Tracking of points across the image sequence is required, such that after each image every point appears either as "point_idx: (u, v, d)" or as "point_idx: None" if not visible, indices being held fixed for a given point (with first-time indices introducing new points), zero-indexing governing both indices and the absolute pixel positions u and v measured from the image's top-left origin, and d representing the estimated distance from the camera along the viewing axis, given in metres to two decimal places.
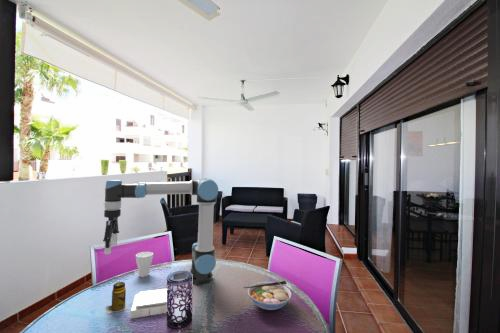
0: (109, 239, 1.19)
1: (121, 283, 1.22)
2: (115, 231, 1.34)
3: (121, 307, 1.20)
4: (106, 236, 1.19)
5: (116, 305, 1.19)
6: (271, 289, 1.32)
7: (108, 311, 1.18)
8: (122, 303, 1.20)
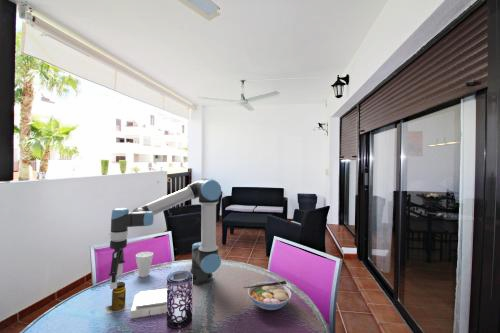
0: (115, 273, 1.12)
1: (121, 283, 1.22)
2: (120, 261, 1.28)
3: (121, 307, 1.20)
4: (112, 270, 1.12)
5: (116, 305, 1.19)
6: (271, 289, 1.32)
7: (108, 311, 1.18)
8: (122, 303, 1.20)
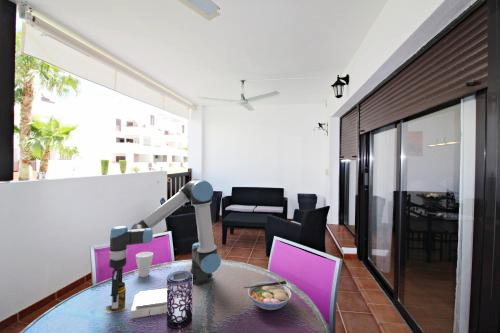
0: (117, 294, 1.16)
1: (121, 283, 1.22)
2: None
3: (121, 307, 1.20)
4: (113, 291, 1.15)
5: None
6: (271, 289, 1.32)
7: (108, 311, 1.18)
8: (122, 303, 1.20)
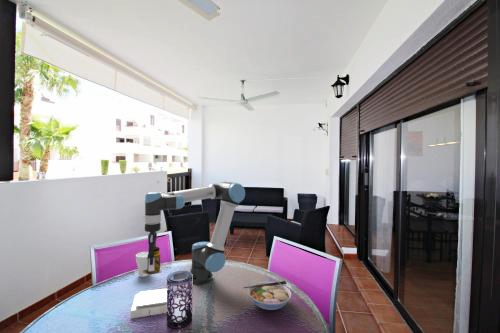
0: (153, 256, 1.18)
1: (156, 248, 1.25)
2: None
3: (157, 270, 1.23)
4: (150, 254, 1.18)
5: None
6: (271, 289, 1.32)
7: (145, 274, 1.21)
8: (157, 266, 1.23)
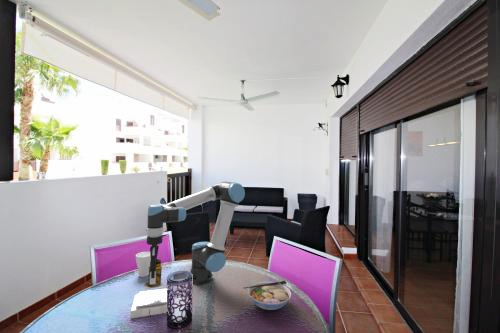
0: (155, 270, 1.18)
1: (157, 260, 1.25)
2: None
3: (158, 283, 1.22)
4: (152, 267, 1.18)
5: None
6: (271, 289, 1.32)
7: (146, 287, 1.21)
8: (158, 279, 1.23)
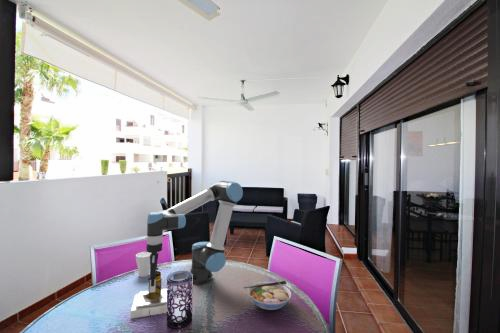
0: (155, 278, 1.17)
1: (157, 272, 1.25)
2: None
3: (158, 295, 1.22)
4: (152, 275, 1.16)
5: (153, 293, 1.21)
6: (271, 289, 1.32)
7: (146, 299, 1.21)
8: (158, 291, 1.23)
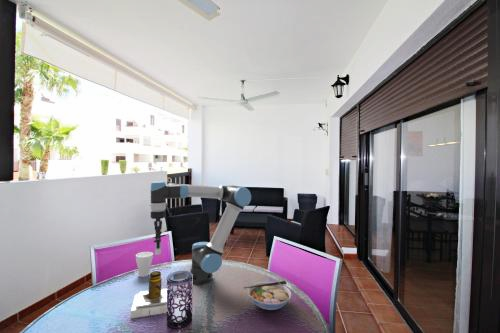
0: (160, 240, 1.21)
1: (157, 272, 1.25)
2: None
3: (158, 295, 1.22)
4: (157, 237, 1.21)
5: (153, 293, 1.21)
6: (271, 289, 1.32)
7: (146, 299, 1.21)
8: (158, 291, 1.23)
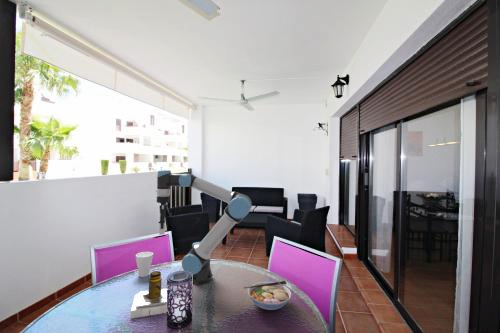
0: (164, 221, 1.36)
1: (157, 272, 1.25)
2: None
3: (158, 295, 1.22)
4: (161, 218, 1.36)
5: (153, 293, 1.21)
6: (271, 289, 1.32)
7: (146, 299, 1.21)
8: (158, 291, 1.23)
